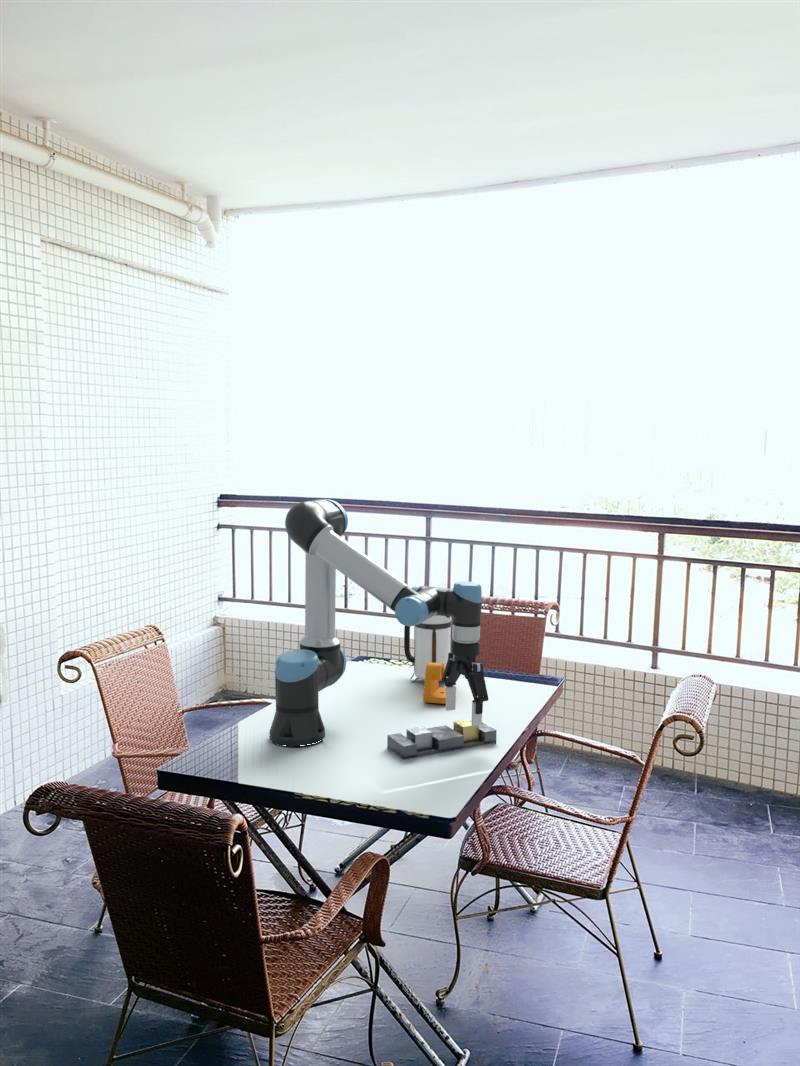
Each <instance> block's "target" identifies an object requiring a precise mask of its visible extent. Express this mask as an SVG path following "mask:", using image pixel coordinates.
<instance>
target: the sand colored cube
mask: <svg viewBox="0 0 800 1066" xmlns="http://www.w3.org/2000/svg"><path fill="white" fill-rule="evenodd" d="M471 722H472V719H470V718H468V719H461V720H456V721H455V720H454V721H453V728H452V729H453V730H455V731H456V732H458V733H460V734H461V735H463V736H464V743H470V742H475V741H479V725H477V726H472V725H471Z"/></svg>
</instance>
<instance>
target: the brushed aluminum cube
mask: <svg viewBox="0 0 800 1066" xmlns="http://www.w3.org/2000/svg"><path fill="white" fill-rule="evenodd" d="M405 737H407V738H408V739H410V740H411V741H413V742H414V743H416V744H417V752H420V751H426V750H431V749H432V732H431V731H430V730H428V729H427V727H425V726H419V727H418V726H417V727H412V728H407V729H406V736H405Z"/></svg>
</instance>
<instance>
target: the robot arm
mask: <svg viewBox="0 0 800 1066" xmlns="http://www.w3.org/2000/svg"><path fill="white" fill-rule="evenodd" d="M348 523H349V519H348V514H347V511H346V510H345V508H344V507H343V506H342V505H341V504H340V503H339V502H338V501H335V500H333V499H328V498H327V499H325V498H319V499H313V500H307V501H306V500H305V501H301V502H298V503H296V504H294V505H293V506H292V507H290V509H289V510H288V512H287V513H286V515H285V520H284V526H285V531H286V533H287V535H288V537H289V538H290V540H291V541H292V542H294V544H296V545H297V546H298V547H299V548H300V549H301V550H302V551H303V553H305V571H304V573H305V574H304V575H305V578H304V579H305V580H304V581H305V588H304V591H305V593H304V595H305V596H304V599H305V600H304V601H305V603H304V605H305V606H304V608H305V609H304V614H305V615H304V616H305V617H304V620H305V621H304V625H305V626H304V636H303V637H302V638H301V639H300V640H299V649H292V650H289V651H285V652H284V653H281V654H280V655H278V656H277V658H276V660H275V664H274V665H275V667H274V678H275V679H274V681H275V682H274V683H275V686H274V687H275V688H274V689H275V712H274V716H273V720H272V721H271V722H272V723H271V726H270V729H269V741H270V740H271V741H272V742H273V743H272V742H271V741H270V742H271V743H272V744H274V743H275V744H274V745H276V744H279V745H278V746H280V745H286V746H300V745H307V744H312V743H316V742H318V741H320V740H324V739H325V738H326V728H325V724H324V722H323V718H322V715H321V713H320V709H319V692H321V691H323V690H324V689H326V688H327V687H330V686H332V685H334V684H335V683H337V682H338V680H340V679H341V677H342V676H343V675H344V673H345V671H346V668H347V658H346V655H345V652H344V651H343V650H342V647H341V640H340V639H339V638H338V637H337V636H336V592H337V590H336V582H337V581H336V576H337V574H336V571H338V572H340V573H341V574H342V575H344V576H345V577H346V578H347V579H349V580H351V581H352V582H353V583H355V584H356V585H357V586H359V587H360V588H361V589H363V590H364V591H366V592H367V593H368V594H370V595H371V596H372V597H374V598H375V599H376V600H378V601H379V602H380V603H382V604H383V605H385V606H386V607H388V608H389V609H390V610H392V611H393V612H394V615H395V618H396V620H397V622H398V623H400V624H401V625H403V626H404V627H405V626H410V627H414V626H415V625H419V624H421V623H423V622H424V621H425V620H426V619H428V618H430V617H432V616H434V615H439V616H448V617H451V619H452V621H451V639H452V640H451V652H450V653H449V654H448V661H447V664H446V667H445V670H444V673H443V676H442V681H441V683H444V686H445V688H446V704H445V711H446V712H448V711H449V712H450V711H455V710H456V707H457V706H456V702H457V697H456V696H457V681H458V679H459V678H460V676H461V675H463V676H464V678H465V679H466V681H467V683H468V685H469V688H470V691H471V694H472V697H473V700H472V701H471V720H472V722H471V725H472V726H477V725H482V723H483V707H484V702H488V701H489V694H488V690H487V685H486V680H485V676H484V664H483V663H482V662H479V663H478V662H477V660H476V658H477V657H479V655H480V653H481V650H480V649H481V642H480V641H479V640H480V639H481V629H482V628H481V622H482V621H481V619H482V604H483V603H482V602H483V599H482V597H483V596H482V592H483V591H482V586H481V584H479V583H478V582H475V581H461V580H460V581H457V582H455V583H454V584H453V588H447V587H438V586H436V587H435V586H428V585H414V586H412V587H410V586H409V585H408V584H407V583H406V582H403V580H401V579H399V578H398V577H397V576H395V574H392V573H391V572H390V571H388V570H387V569H386V568H384V567H383V566H381V565H380V564H379V563H377V562H376V561H374V560H373V559H372V558H371V557H369V556H368V555H366V554H365V553H363V552H362V551H361V550H359V549H358V548H357V547H355V546H354V545H353V544H352V543H350V542H349V541H348V540H345V539H344V538H343V537H342V536H343V535H344V534H345V532H346V531H347V528H348Z"/></svg>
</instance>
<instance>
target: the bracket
mask: <svg viewBox="0 0 800 1066" xmlns="http://www.w3.org/2000/svg"><path fill="white" fill-rule="evenodd" d="M444 670H445V669H444V664H443V663H432V662H428V663H427V666H426V673H425V680H424V684H423V693H422V702H423V703H432V704H442V705H443V704H445V705H446V687H440V685H439V683H440V682H442V676H443V673H444ZM438 680H440V681H438Z"/></svg>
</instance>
